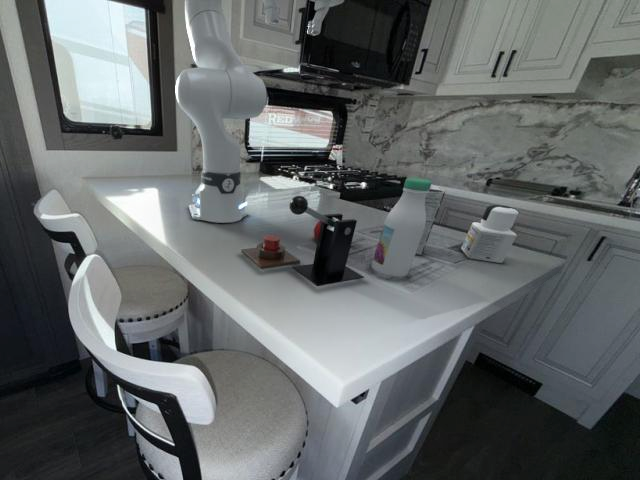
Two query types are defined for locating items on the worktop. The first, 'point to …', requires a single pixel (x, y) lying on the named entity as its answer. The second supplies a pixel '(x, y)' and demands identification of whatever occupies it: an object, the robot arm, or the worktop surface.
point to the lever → (310, 211)
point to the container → (491, 235)
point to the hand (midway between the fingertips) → (293, 29)
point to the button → (271, 243)
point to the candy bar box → (430, 213)
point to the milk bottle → (402, 230)
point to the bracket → (331, 254)
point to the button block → (270, 257)
